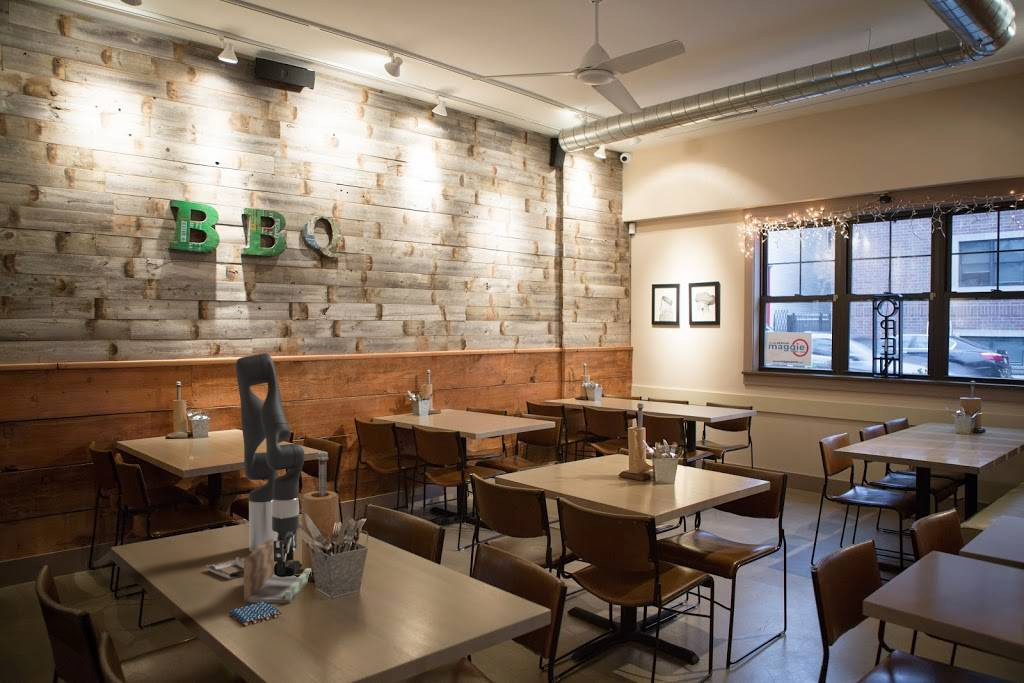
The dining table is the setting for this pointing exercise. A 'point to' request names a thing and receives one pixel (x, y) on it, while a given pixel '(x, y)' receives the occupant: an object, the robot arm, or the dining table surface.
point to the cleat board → (269, 578)
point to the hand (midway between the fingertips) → (285, 569)
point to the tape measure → (289, 568)
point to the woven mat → (255, 613)
